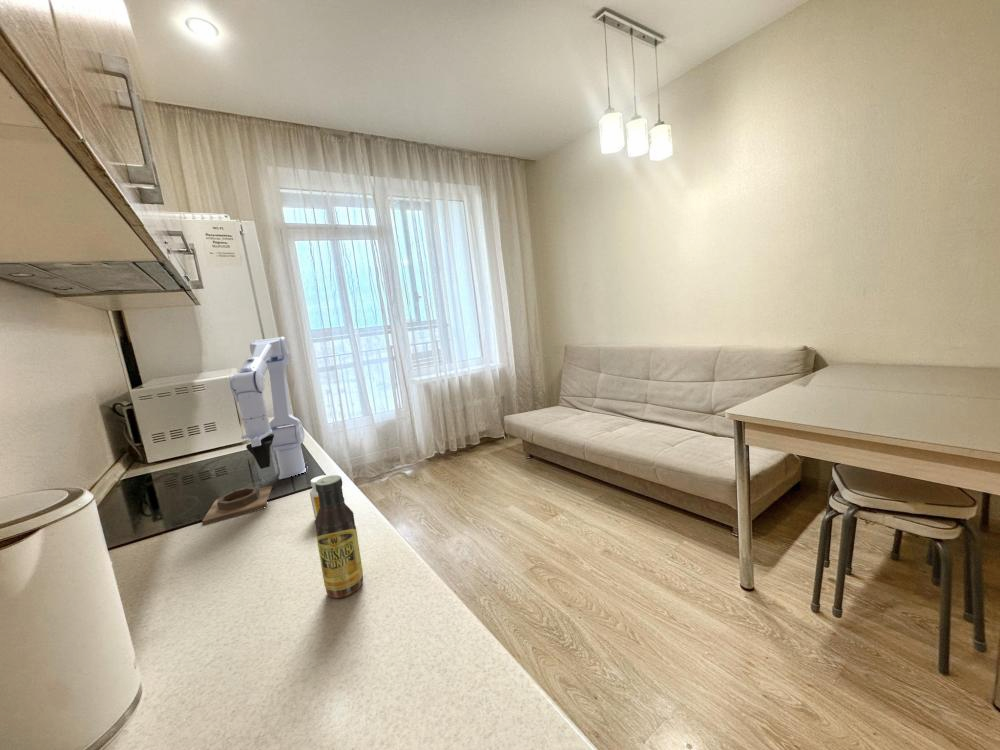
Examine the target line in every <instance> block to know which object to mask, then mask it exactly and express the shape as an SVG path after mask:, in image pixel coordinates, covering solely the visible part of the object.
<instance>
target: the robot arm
mask: <svg viewBox="0 0 1000 750" xmlns="http://www.w3.org/2000/svg"><path fill="white" fill-rule="evenodd" d="M289 344H290V343H289V342H288V339H287V338H286V337H285V336H280V337H279V336H278V337H272V338H264V339H253V340H251V342H250V343H249V351H250V354H251V357H247V359H246V360H245V361H244V362H243V364H242V366H241V368H240V370H239V372H237V373H234V374H233V375H232V376H231V377H230V379H229V388H230V391H231V393H232V395H233V396H234V400H235V402H236V403H238V406H239V410H240V415H241V419H242V423H243V426H244V431H245V434H242V435H241V439H242V440H243V439H245V440H248V441H249V442H250V443H248V444H246V446H245V447H246V450H247V451H248V452H249V453H251V455H252V457H253V458H254V457H255V459H256V461H257V463H258V465H259V467H260V468H261V469H262V468H266V467H269V466H270V445H271V443H272V447H273V451H274V452H275V455H276V458H277V462H278V463H277V464H278V467H279V476H278V480H282V479H287V478H291V476H292V477H295V475H296V476H299V475H298V474H300V475H302V474H301V473H304V472H306V468H305V463H306V462H305V459H304V454H303V449H302V446H301V445H302V444H303V443H304V442H305V430H304V427H303V422H302V421H301V420H300V419H299V418H297V417H296V416H294V415H292V412H291V411H292V409H291V403H290V394H289V393H290V392H289V385H288V377H287V365H289V364H290V363H291V362H292V361H291V359H292V358H291V357H292V356H291V349H290V345H289ZM267 370H268V372H269V380H270V381H269V382H270V390H271V391H270V392H271V398H272V406H273V407H272V409H273V415H274V416H273V419H271V421H270V419H269V415H268V411H267V405H266V402H265V398H264V390H265V379H266V378H265V376H266V375H265V374H266V373H267ZM255 459H254V460H255ZM306 473H307V472H306ZM304 474H305V473H304Z"/></svg>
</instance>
